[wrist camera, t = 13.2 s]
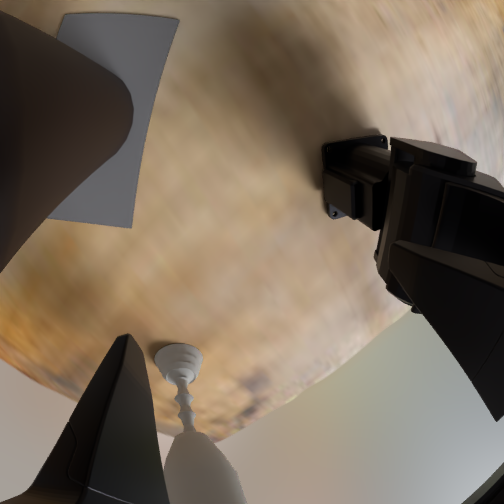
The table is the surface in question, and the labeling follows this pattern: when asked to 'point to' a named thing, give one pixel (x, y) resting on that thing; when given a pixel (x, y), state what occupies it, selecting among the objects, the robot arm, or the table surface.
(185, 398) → the chalice
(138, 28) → the mat
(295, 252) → the table surface
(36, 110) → the vinegar
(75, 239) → the table surface
